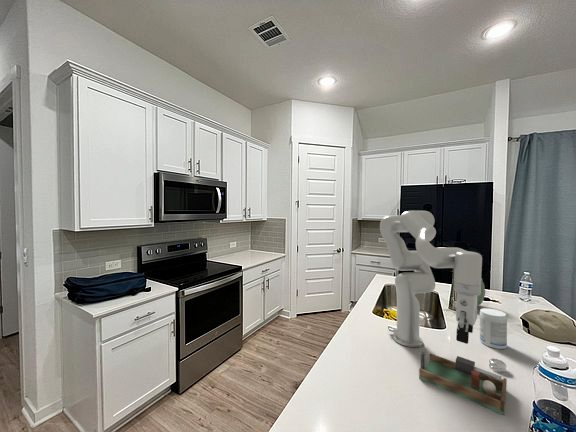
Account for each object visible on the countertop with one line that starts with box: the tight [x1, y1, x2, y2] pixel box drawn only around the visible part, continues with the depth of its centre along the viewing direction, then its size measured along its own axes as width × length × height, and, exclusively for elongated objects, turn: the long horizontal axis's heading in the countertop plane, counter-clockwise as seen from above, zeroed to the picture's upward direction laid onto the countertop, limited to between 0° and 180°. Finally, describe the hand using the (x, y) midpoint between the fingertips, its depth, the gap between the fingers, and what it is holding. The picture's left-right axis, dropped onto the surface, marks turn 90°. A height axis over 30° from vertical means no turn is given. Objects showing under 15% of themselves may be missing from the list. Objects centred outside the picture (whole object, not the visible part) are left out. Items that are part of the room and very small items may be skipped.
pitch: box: [418, 351, 508, 416], centre depth 86 cm, size 24×14×6 cm, turn 46°
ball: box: [482, 380, 496, 392], centre depth 81 cm, size 4×4×4 cm
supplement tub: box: [479, 307, 508, 350], centre depth 112 cm, size 10×10×15 cm
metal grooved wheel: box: [488, 358, 507, 374], centre depth 95 cm, size 5×3×5 cm
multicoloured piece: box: [455, 355, 503, 390], centre depth 83 cm, size 12×3×7 cm, turn 46°
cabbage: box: [477, 277, 486, 307], centre depth 158 cm, size 16×19×20 cm
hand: (464, 336), depth 85 cm, fingers open, 9 cm apart
